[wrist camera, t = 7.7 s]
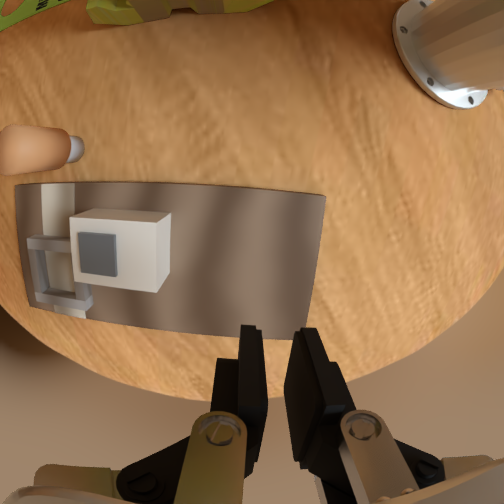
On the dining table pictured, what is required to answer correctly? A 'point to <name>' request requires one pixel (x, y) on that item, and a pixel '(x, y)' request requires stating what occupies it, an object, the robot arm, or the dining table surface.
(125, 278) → the block
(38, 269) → the panel
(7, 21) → the door hanger
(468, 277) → the dining table surface
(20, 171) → the tan rounded cylinder
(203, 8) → the toy
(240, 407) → the robot arm
